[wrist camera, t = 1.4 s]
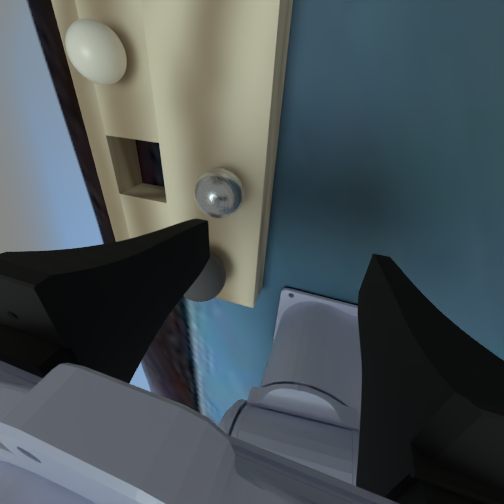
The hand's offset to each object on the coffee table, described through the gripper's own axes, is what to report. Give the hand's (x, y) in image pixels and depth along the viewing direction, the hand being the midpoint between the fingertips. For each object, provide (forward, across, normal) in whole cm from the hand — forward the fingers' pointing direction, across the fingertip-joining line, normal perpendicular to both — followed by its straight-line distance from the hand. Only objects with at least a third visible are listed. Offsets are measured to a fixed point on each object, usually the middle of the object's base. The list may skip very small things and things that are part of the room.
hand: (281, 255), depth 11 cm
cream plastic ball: (+5, +13, -7) cm, 16 cm away
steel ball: (+5, +5, 0) cm, 7 cm away
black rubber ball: (+5, +7, +7) cm, 11 cm away
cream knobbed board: (+10, +10, 0) cm, 14 cm away
